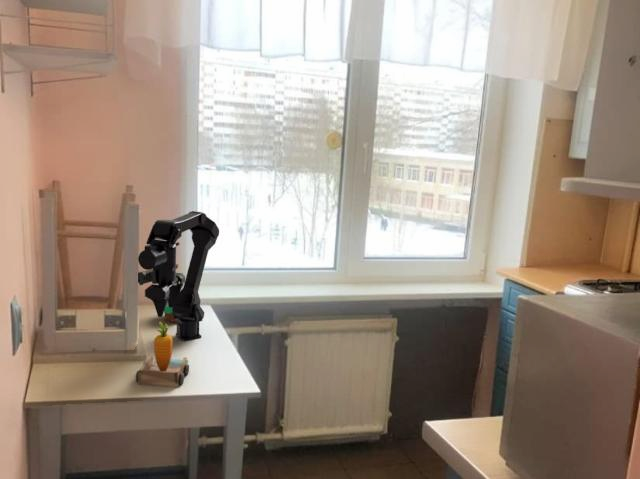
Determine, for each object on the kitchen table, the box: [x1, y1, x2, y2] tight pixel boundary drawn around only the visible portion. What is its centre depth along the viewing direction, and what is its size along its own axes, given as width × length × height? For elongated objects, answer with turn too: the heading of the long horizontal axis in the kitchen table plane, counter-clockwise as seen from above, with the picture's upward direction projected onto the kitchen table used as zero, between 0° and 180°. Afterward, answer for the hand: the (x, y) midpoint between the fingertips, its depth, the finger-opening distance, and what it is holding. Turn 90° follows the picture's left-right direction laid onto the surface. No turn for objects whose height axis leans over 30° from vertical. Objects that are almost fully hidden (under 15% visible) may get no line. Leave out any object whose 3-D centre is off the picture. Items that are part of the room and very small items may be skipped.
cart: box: [135, 354, 190, 388], centre depth 169 cm, size 17×13×4 cm
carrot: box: [153, 321, 174, 371], centre depth 165 cm, size 5×5×15 cm
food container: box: [163, 302, 178, 324], centre depth 211 cm, size 12×6×10 cm, turn 20°
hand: (165, 311), depth 181 cm, fingers open, 9 cm apart
